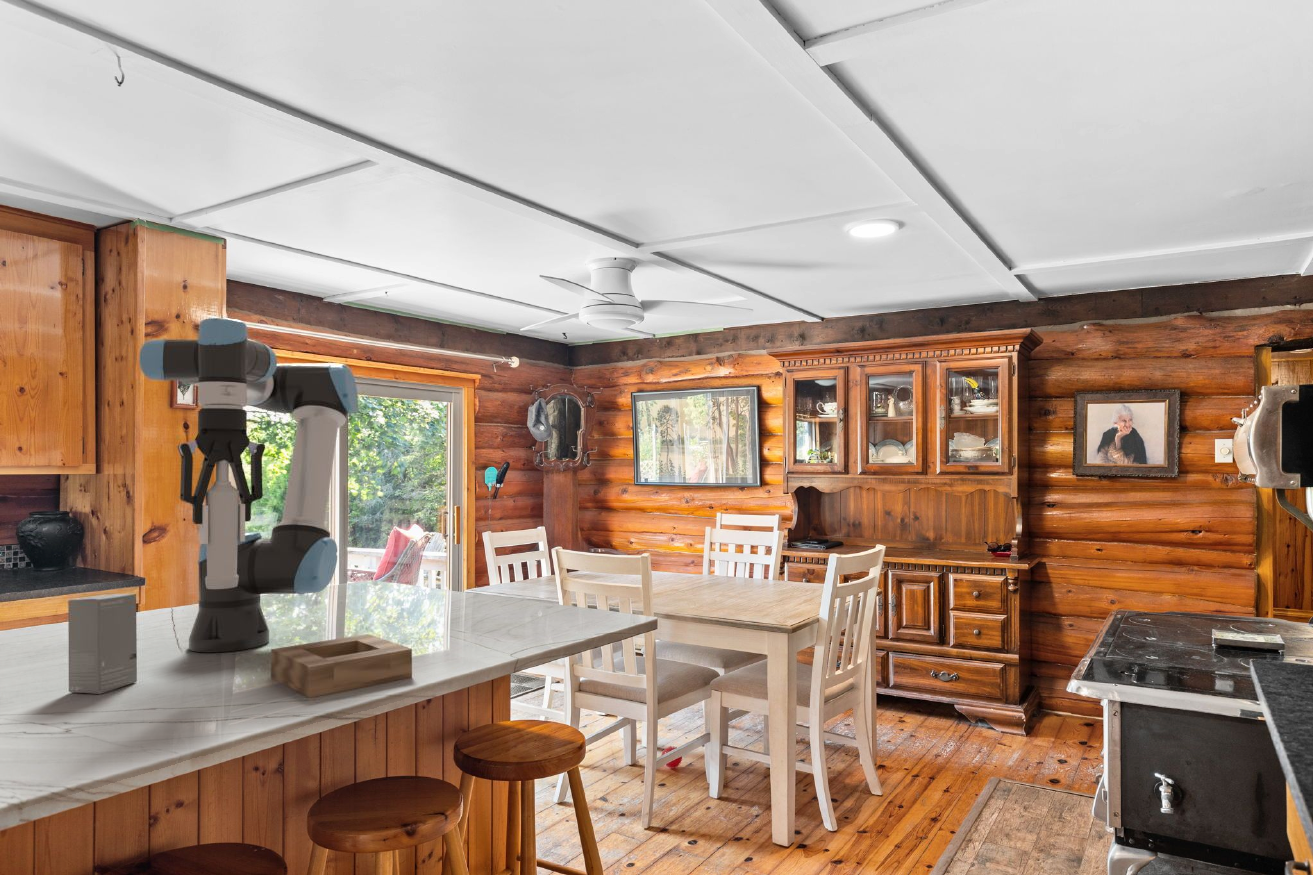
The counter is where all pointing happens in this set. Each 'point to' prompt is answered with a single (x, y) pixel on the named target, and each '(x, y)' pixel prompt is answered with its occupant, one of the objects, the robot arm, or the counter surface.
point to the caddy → (340, 664)
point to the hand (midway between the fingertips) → (222, 541)
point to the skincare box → (102, 643)
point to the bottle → (222, 531)
